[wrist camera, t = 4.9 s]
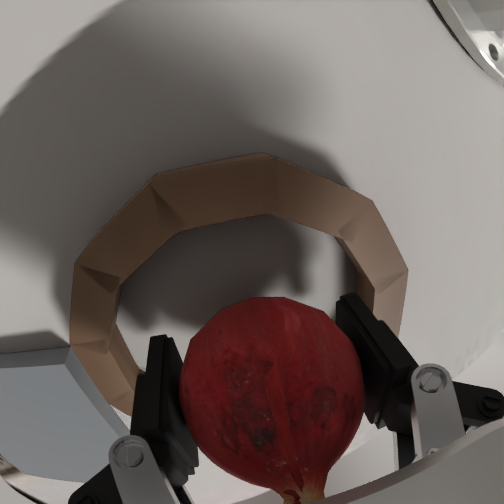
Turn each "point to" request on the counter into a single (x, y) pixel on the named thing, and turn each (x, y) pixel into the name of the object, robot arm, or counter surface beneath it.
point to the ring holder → (211, 212)
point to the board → (54, 416)
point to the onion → (273, 394)
